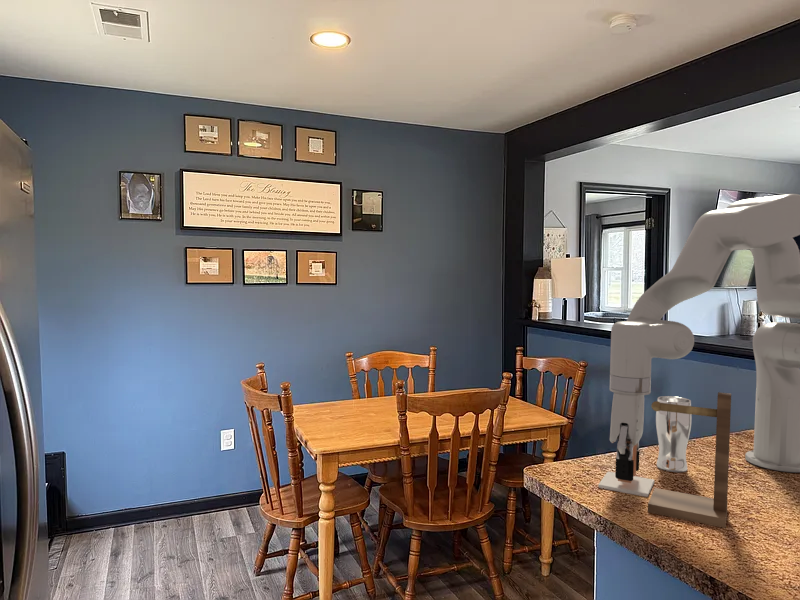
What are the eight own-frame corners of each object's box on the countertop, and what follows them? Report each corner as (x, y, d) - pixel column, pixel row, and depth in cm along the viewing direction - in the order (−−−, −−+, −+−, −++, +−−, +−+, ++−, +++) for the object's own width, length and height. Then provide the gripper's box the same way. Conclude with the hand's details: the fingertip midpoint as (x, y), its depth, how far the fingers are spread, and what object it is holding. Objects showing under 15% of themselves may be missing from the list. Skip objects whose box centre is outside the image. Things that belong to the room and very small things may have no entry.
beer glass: (693, 474, 122) (696, 403, 121) (658, 471, 124) (660, 401, 123) (684, 463, 129) (686, 396, 128) (651, 461, 130) (653, 395, 130)
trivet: (607, 474, 122) (607, 471, 122) (654, 482, 117) (654, 479, 117) (598, 487, 114) (598, 484, 114) (647, 497, 109) (647, 493, 109)
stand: (651, 495, 110) (655, 382, 109) (727, 509, 104) (731, 390, 103) (644, 511, 103) (648, 390, 102) (725, 528, 96) (730, 399, 95)
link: (623, 471, 119) (624, 433, 118) (635, 474, 117) (637, 435, 117) (617, 480, 113) (618, 440, 113) (630, 483, 112) (632, 442, 112)
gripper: (618, 376, 124) (615, 459, 125) (600, 389, 109) (598, 484, 110) (656, 379, 120) (653, 465, 121) (643, 394, 105) (640, 492, 106)
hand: (627, 473), depth 115 cm, fingers closed on link, 6 cm apart
